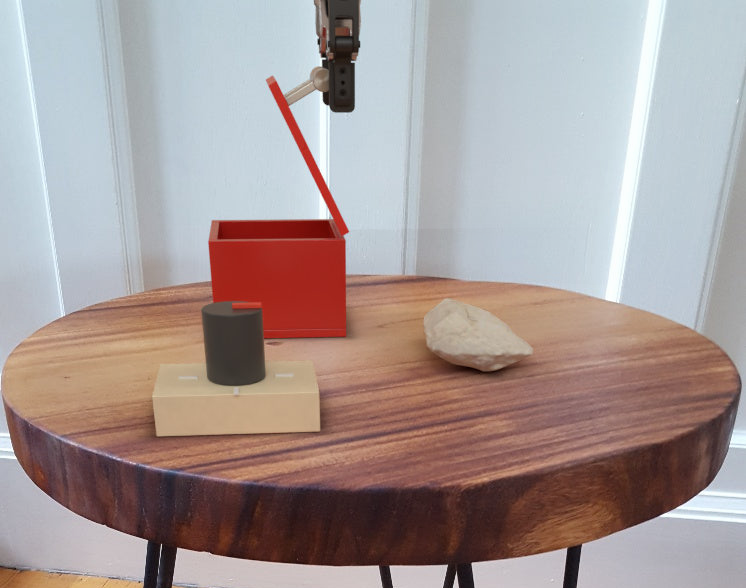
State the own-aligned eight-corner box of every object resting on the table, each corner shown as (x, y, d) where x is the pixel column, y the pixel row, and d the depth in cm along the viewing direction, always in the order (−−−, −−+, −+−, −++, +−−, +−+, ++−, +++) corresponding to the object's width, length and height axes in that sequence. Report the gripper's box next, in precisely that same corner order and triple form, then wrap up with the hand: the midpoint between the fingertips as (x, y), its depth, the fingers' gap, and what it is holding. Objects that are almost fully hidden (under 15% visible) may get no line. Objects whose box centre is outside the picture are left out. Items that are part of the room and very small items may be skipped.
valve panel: (156, 438, 70) (151, 395, 68) (164, 400, 77) (159, 360, 75) (320, 433, 71) (319, 390, 69) (313, 396, 78) (312, 357, 76)
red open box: (216, 339, 92) (208, 241, 87) (218, 310, 101) (211, 220, 97) (346, 336, 93) (345, 239, 88) (336, 308, 103) (335, 219, 98)
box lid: (268, 85, 81) (324, 51, 80) (265, 79, 91) (315, 49, 90) (341, 236, 88) (393, 206, 87) (332, 216, 98) (378, 189, 97)
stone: (433, 382, 81) (436, 321, 79) (409, 339, 92) (410, 285, 90) (539, 378, 82) (545, 318, 80) (502, 337, 93) (506, 283, 91)
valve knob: (206, 386, 70) (199, 311, 67) (208, 368, 74) (201, 297, 71) (266, 384, 70) (262, 310, 68) (265, 367, 74) (261, 296, 71)
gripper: (286, -110, 84) (293, 103, 93) (294, -132, 72) (301, 114, 81) (371, -108, 85) (370, 104, 94) (392, -130, 73) (388, 114, 82)
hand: (338, 108), depth 87 cm, fingers open, 8 cm apart
